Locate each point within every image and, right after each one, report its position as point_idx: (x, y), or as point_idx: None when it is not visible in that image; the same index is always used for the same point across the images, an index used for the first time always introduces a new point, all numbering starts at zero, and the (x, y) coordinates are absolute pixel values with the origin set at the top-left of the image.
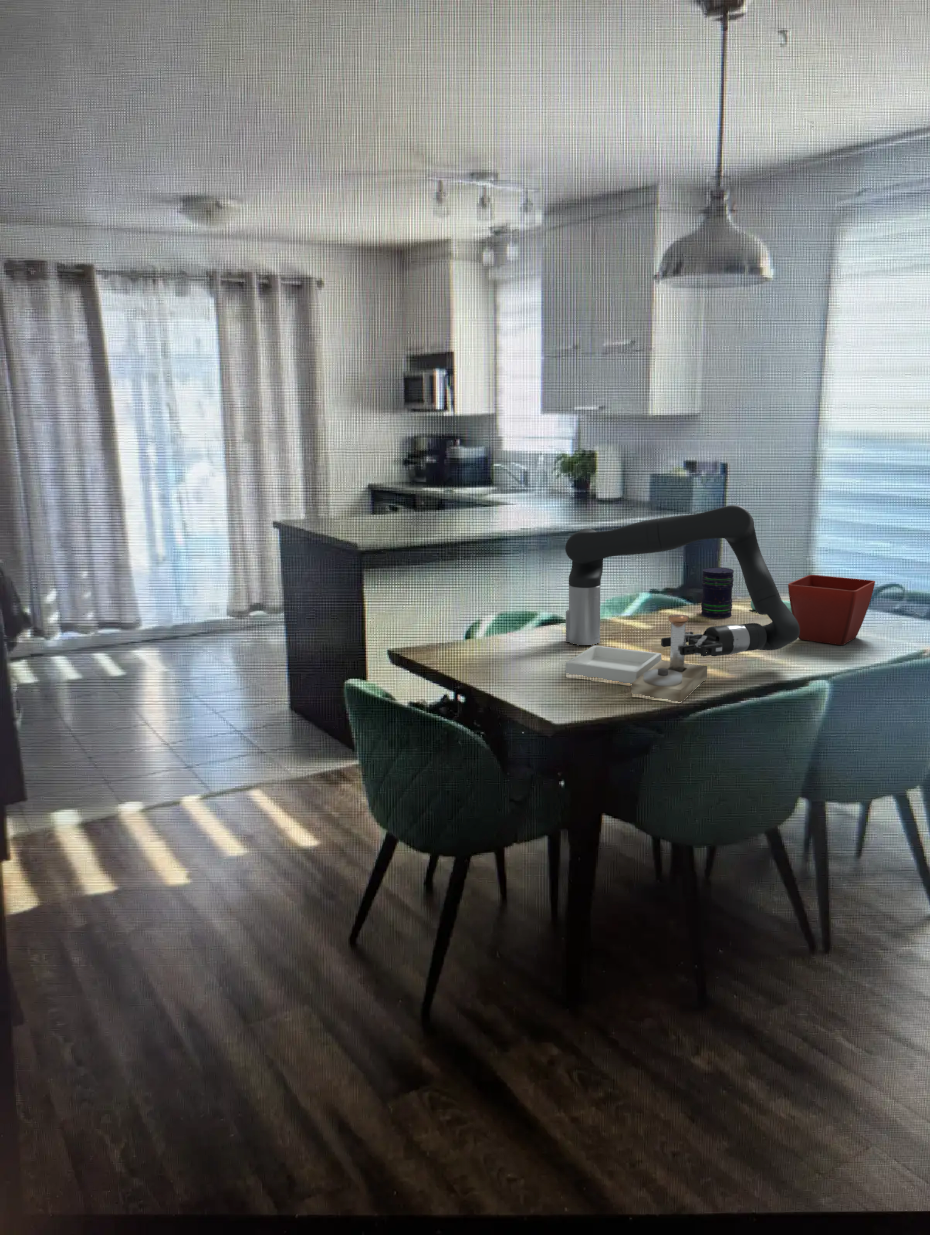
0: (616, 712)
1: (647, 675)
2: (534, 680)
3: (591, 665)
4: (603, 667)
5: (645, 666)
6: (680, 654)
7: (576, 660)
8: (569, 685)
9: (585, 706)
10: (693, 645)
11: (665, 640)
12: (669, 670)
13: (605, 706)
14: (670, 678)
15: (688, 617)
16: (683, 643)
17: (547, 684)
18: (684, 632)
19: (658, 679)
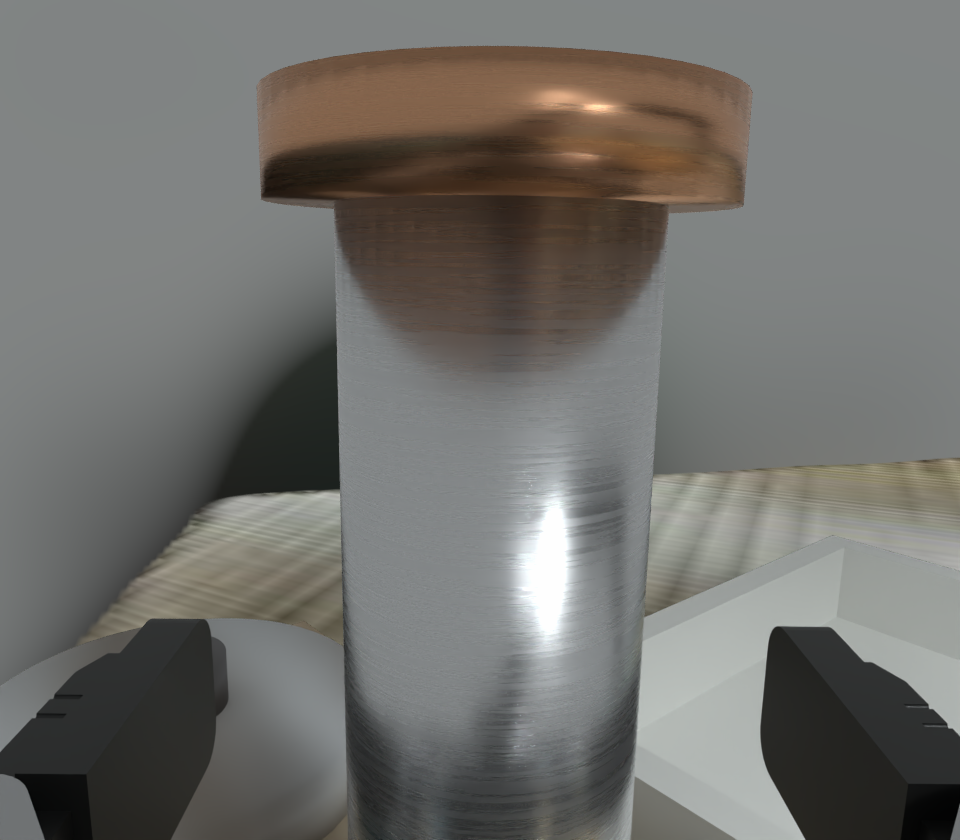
0: (156, 606)
1: (248, 629)
2: (777, 554)
3: (753, 580)
4: (687, 601)
5: (696, 827)
6: (204, 748)
7: (940, 588)
8: (665, 603)
9: (324, 568)
10: (32, 761)
11: (791, 681)
12: (226, 795)
13: (266, 604)
14: (22, 700)
15: (307, 68)
16: (351, 724)
17: (702, 564)
18: (350, 488)
19: (100, 641)
